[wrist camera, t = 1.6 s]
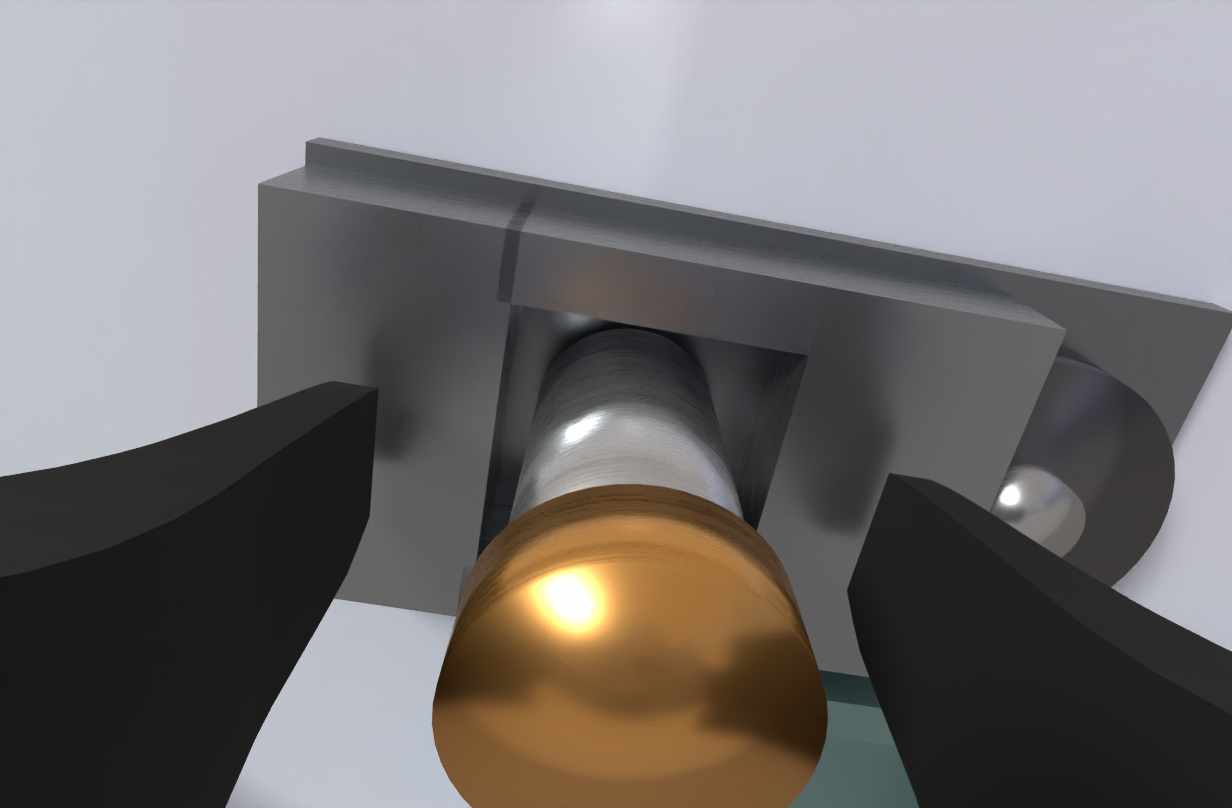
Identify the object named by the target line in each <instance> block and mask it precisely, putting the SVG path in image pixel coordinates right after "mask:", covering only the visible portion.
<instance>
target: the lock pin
mask: <svg viewBox="0 0 1232 808" xmlns="http://www.w3.org/2000/svg"><path fill="white" fill-rule="evenodd" d="M827 726H828V709H827V698H826V694H825V690H824V685H823V681H822V678H821V675H820V672H819V669H818V665H817V662H816V659H815V656H814V653H813V650H812V647H811V644H810V641H809V638H808V634H807V631H806V628H805V625H804V622H803V619H802V616H801V613H800V610H799V606H798V603H797V600H796V597H795V594H794V591H793V588H792V585H791V582H790V580H789V577H788V575H787V573H786V570H785V568H784V566H783V564H782V563H781V561H780V560H779V558H778V556H777V555H776V553H775V551H774V550H773V549H772V548H771V546H770V545H769V544H768V543H767V542H766V541H765V539H764V538H763V537H762V536H761V535H760V534H759V533H758V532H757V531H756V530H754V529H753V528H752V527H751V526H750V525H749V524H748V523H747V522H745V521H744V517H743V513H742V509H741V506H740V502H739V498H738V494H737V491H736V487H735V483H734V479H733V476H732V472H731V468H730V464H729V461H728V457H727V453H726V449H725V446H724V442H723V438H722V434H721V431H720V427H719V423H718V419H717V415H716V412H715V408H714V404H713V400H712V397H711V393H710V389H709V385H708V383H707V380H706V378H705V376H704V374H703V372H702V370H701V369H700V367H699V365H698V364H697V363H696V362H695V360H694V359H693V358H692V357H691V356H690V355H689V354H688V353H687V352H686V351H685V350H684V349H683V348H681V347H680V346H679V345H677V344H676V343H674V342H673V341H671V340H669V339H667V338H665V337H663V336H660V335H658V334H655V333H652V332H648V331H644V330H638V329H612V330H605V331H601V332H598V333H594V334H592V335H589V336H587V337H584V338H582V339H581V340H579V341H577V342H575V343H574V344H572V345H571V346H570V347H568V348H567V349H566V350H564V351H563V352H562V353H561V354H560V355H559V356H558V357H557V358H556V359H555V361H554V362H553V363H552V365H551V366H550V367H549V369H548V371H547V373H546V375H545V376H544V379H543V381H542V384H541V386H540V390H539V395H538V399H537V403H536V408H535V412H534V416H533V421H532V425H531V429H530V434H529V438H528V442H527V447H526V451H525V455H524V460H523V464H522V468H521V473H520V477H519V482H518V486H517V490H516V495H515V499H514V503H513V508H512V512H511V516H510V521H509V524H508V525H507V526H506V527H505V528H504V529H503V530H502V531H501V532H500V533H499V534H498V535H497V536H496V537H494V538H493V540H492V541H491V542H490V543H489V545H488V546H487V547H486V548H485V550H484V551H483V552H482V553H481V555H480V556H479V558H478V560H477V562H476V563H475V565H474V567H473V568H472V570H471V572H470V575H469V578H468V580H467V583H466V585H465V588H464V591H463V595H462V598H461V602H460V605H459V609H458V612H457V616H456V619H455V623H454V626H453V630H452V633H451V637H450V640H449V644H448V647H447V651H446V654H445V658H444V662H443V665H442V669H441V672H440V676H439V679H438V683H437V687H436V691H435V696H434V701H433V713H432V727H433V734H434V741H435V745H436V749H437V752H438V755H439V758H440V761H441V763H442V765H443V767H444V769H445V771H446V773H447V775H448V777H449V779H450V781H451V782H452V784H453V785H454V787H455V788H456V789H457V791H458V792H459V794H460V795H461V796H462V797H463V799H464V800H465V801H466V802H467V803H468V804H469V805H470V806H471V807H472V808H788V806H789V805H790V804H791V803H792V802H793V801H794V800H795V799H796V798H797V796H798V795H799V794H800V793H801V792H802V790H803V789H804V787H805V786H806V784H807V783H808V781H809V780H810V778H811V777H812V775H813V773H814V771H815V769H816V766H817V764H818V762H819V760H820V758H821V754H822V751H823V748H824V744H825V741H826V734H827Z"/></svg>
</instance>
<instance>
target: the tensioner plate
mask: <svg viewBox="0 0 1232 808" xmlns="http://www.w3.org/2000/svg"><path fill="white" fill-rule="evenodd" d="M612 329H638V330H644V331H648V332H652V333H655V334H658V335H660V336H663V337H665V338H667V339H669V340H671V341H673V342H674V343H676V344H677V345H679V346H680V347H681V348H683V349H684V350H685V351H686V352H687V353H688V354H689V355H690V356H691V357H692V358H693V359H694V360H695V362H696V363H697V364H698V365H699V367H700V369H701V370H702V372H703V374H704V376H705V378H706V380H707V383H708V385H709V389H710V393H711V397H712V400H713V404H714V408H715V412H716V415H717V419H718V423H719V427H720V431H721V434H722V438H723V442H724V446H725V449H726V453H727V457H728V461H729V464H730V468H731V472H732V476H733V479H734V483H735V487H736V491H737V494H738V498H739V502H740V506H741V509H742V513H743V517H744V521H745V522H747V523H748V524H749V525H750V526H751V527H752V528H753V529H754V530H756V531H757V532H758V533H759V534H760V535H761V536H762V537H763V538H764V539H765V541H766V542H767V543H768V544H769V545H770V546H771V548H772V549H773V550H774V551H775V553H776V555H777V556H778V558H779V560H780V561H781V563H782V564H783V566H784V568H785V570H786V573H787V575H788V577H789V580H790V582H791V585H792V588H793V591H794V594H795V597H796V600H797V603H798V606H799V610H800V613H801V616H802V619H803V622H804V625H805V628H806V631H807V634H808V638H809V641H810V644H811V647H812V650H813V653H814V656H815V659H816V662H817V665H818V669H819V670H824V671H830V672H837V673H844V674H851V675H858V676H864V677H869V675H868V672H867V670H866V667H865V664H864V662H863V659H862V656H861V653H860V650H859V646H858V642H857V638H856V633H855V629H854V625H853V620H852V615H851V610H850V605H849V600H848V594H847V588H848V585H849V583H850V580H851V577H852V574H853V571H854V569H855V566H856V563H857V560H858V558H859V555H860V552H861V549H862V546H863V544H864V541H865V538H866V535H867V533H868V530H869V527H870V524H871V522H872V519H873V516H874V513H875V510H876V508H877V505H878V502H879V499H880V497H881V494H882V491H883V488H884V486H885V483H886V480H887V477H888V474H889V473H893V474H899V475H905V476H911V477H918V478H924V479H930V480H933V481H935V482H937V483H939V484H942V485H944V486H946V487H948V488H950V489H952V490H953V491H955V492H957V493H959V494H961V495H962V496H964V497H966V498H967V499H969V500H971V501H972V502H974V503H976V504H977V505H979V506H981V507H982V508H984V509H985V510H987V511H988V512H990V513H992V514H993V515H995V516H996V517H998V518H999V519H1001V520H1003V521H1004V522H1006V523H1007V524H1009V525H1010V526H1012V527H1013V528H1015V529H1017V530H1018V531H1020V532H1021V533H1023V534H1024V535H1026V536H1027V537H1029V538H1031V539H1032V540H1034V541H1035V542H1037V543H1038V544H1040V545H1041V546H1043V547H1045V548H1046V549H1048V550H1049V551H1051V552H1053V553H1054V554H1056V555H1057V556H1059V557H1060V558H1062V559H1064V560H1065V561H1067V562H1068V563H1070V564H1072V565H1073V566H1075V567H1077V568H1078V569H1080V570H1081V571H1083V572H1085V573H1086V574H1088V575H1090V576H1091V577H1093V578H1095V579H1097V580H1098V581H1100V582H1102V583H1103V584H1105V585H1107V586H1108V587H1111V586H1113V585H1114V584H1115V583H1116V582H1117V581H1119V580H1120V579H1121V578H1122V577H1123V576H1124V575H1125V574H1126V573H1127V572H1128V571H1129V570H1130V569H1131V568H1132V567H1133V566H1134V565H1135V564H1136V563H1137V562H1138V561H1139V560H1140V558H1141V557H1142V556H1143V554H1144V553H1145V552H1146V551H1147V549H1148V548H1149V547H1150V545H1151V543H1152V542H1153V540H1154V539H1155V537H1156V535H1157V534H1158V532H1159V530H1160V528H1161V526H1162V524H1163V521H1164V519H1165V517H1166V515H1167V512H1168V509H1169V505H1170V502H1171V499H1172V494H1173V487H1174V480H1175V465H1174V456H1173V451H1172V444H1173V442H1174V440H1175V438H1176V436H1177V434H1178V432H1179V430H1180V429H1181V427H1182V425H1183V423H1184V421H1185V419H1186V417H1187V415H1188V413H1189V411H1190V409H1191V407H1192V405H1193V403H1194V401H1195V399H1196V397H1197V395H1198V393H1199V391H1200V390H1201V388H1202V386H1203V384H1204V382H1205V380H1206V378H1207V376H1208V374H1209V372H1210V370H1211V368H1212V366H1213V364H1214V362H1215V360H1216V358H1217V356H1218V354H1219V352H1220V351H1221V349H1222V347H1223V345H1224V343H1225V341H1226V339H1227V337H1228V335H1229V333H1230V331H1231V329H1232V311H1229V310H1227V309H1225V308H1222V307H1220V306H1218V305H1215V304H1212V303H1206V302H1201V301H1195V300H1190V299H1185V298H1179V297H1174V296H1169V295H1163V294H1158V293H1152V292H1147V291H1142V290H1136V289H1131V288H1126V287H1120V286H1115V285H1109V284H1104V283H1099V282H1093V281H1088V280H1083V279H1077V278H1072V277H1066V276H1061V275H1056V274H1050V273H1045V272H1040V271H1034V270H1029V269H1023V268H1018V267H1013V266H1007V265H1002V264H996V263H991V262H986V261H980V260H975V259H970V258H964V257H959V256H953V255H948V254H943V253H937V252H932V251H927V250H921V249H916V248H910V247H905V246H900V245H894V244H889V243H884V242H878V241H873V240H867V239H862V238H857V237H851V236H846V235H841V234H835V233H830V232H824V231H819V230H814V229H808V228H803V227H798V226H792V225H787V224H781V223H776V222H771V221H765V220H760V219H755V218H749V217H744V216H738V215H733V214H728V213H722V212H717V211H712V210H706V209H701V208H695V207H690V206H685V205H679V204H674V203H669V202H663V201H658V200H652V199H647V198H642V197H636V196H631V195H626V194H620V193H615V192H609V191H604V190H599V189H593V188H588V187H583V186H577V185H572V184H566V183H561V182H556V181H550V180H545V179H540V178H534V177H529V176H523V175H518V174H513V173H507V172H502V171H497V170H491V169H486V168H480V167H475V166H470V165H464V164H459V163H454V162H448V161H443V160H437V159H432V158H427V157H421V156H416V155H411V154H405V153H400V152H394V151H389V150H384V149H378V148H373V147H368V146H362V145H357V144H351V143H346V142H341V141H335V140H330V139H325V138H316V139H313V140H310V141H307V142H306V160H305V166H304V167H301V168H298V169H296V170H293V171H291V172H288V173H285V174H283V175H280V176H277V177H275V178H272V179H269V180H267V181H264V182H262V183H259V184H258V401H257V407H260V406H263V405H265V404H268V403H270V402H273V401H276V400H278V399H281V398H283V397H286V396H288V395H291V394H294V393H296V392H299V391H301V390H304V389H307V388H310V387H313V386H316V385H319V384H322V383H326V382H330V381H338V382H344V383H350V384H356V385H362V386H368V387H374V388H379V390H378V405H377V419H376V434H375V448H374V463H373V477H372V492H371V506H370V517H369V520H368V523H367V525H366V528H365V531H364V533H363V536H362V538H361V541H360V544H359V546H358V549H357V551H356V554H355V556H354V559H353V561H352V564H351V566H350V569H349V571H348V574H347V576H346V577H345V579H344V581H343V583H342V585H341V587H340V588H339V590H338V592H337V594H336V595H335V597H334V599H341V600H348V601H355V602H361V603H368V604H375V605H382V606H389V607H395V608H402V609H409V610H416V611H423V612H429V613H436V614H443V615H450V616H457V612H458V609H459V605H460V602H461V598H462V595H463V591H464V588H465V585H466V583H467V580H468V578H469V575H470V572H471V570H472V568H473V567H474V565H475V563H476V562H477V560H478V558H479V556H480V555H481V553H482V552H483V551H484V550H485V548H486V547H487V546H488V545H489V543H490V542H491V541H492V540H493V538H494V537H496V536H497V535H498V534H499V533H500V532H501V531H502V530H503V529H504V528H505V527H506V526H507V525H508V524H509V521H510V516H511V512H512V508H513V503H514V499H515V495H516V490H517V486H518V482H519V477H520V473H521V468H522V464H523V460H524V455H525V451H526V447H527V442H528V438H529V434H530V429H531V425H532V421H533V416H534V412H535V408H536V403H537V399H538V395H539V390H540V386H541V384H542V381H543V379H544V376H545V375H546V373H547V371H548V369H549V367H550V366H551V365H552V363H553V362H554V361H555V359H556V358H557V357H558V356H559V355H560V354H561V353H562V352H563V351H564V350H566V349H567V348H568V347H570V346H571V345H572V344H574V343H575V342H577V341H579V340H581V339H582V338H584V337H587V336H589V335H592V334H594V333H598V332H601V331H605V330H612Z"/></svg>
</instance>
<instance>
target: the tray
mask: <svg viewBox="0 0 1232 808" xmlns="http://www.w3.org/2000/svg"><path fill="white" fill-rule="evenodd" d="M819 672H820V675H821V678H822V681H823V685H824V690H825V694H826V698H827V709H828V726H827V734H826V741H825V744H824V748H823V751H822V754H821V758H820V760H819V762H818V764H817V766H816V769H815V771H814V773H813V775H812V777H811V778H810V780H809V781H808V783H807V784H806V786H805V787H804V789H803V790H802V792H801V793H800V794H799V795H798V796H797V798H796V799H795V800H794V801H793V802H792V803H791V804H790V805H789V806H788V808H919V806H918V803H917V800H916V797H915V794H914V791H913V789H912V786H911V784H910V781H909V779H908V776H907V773H906V771H905V768H904V766H903V763H902V761H901V758H900V755H899V753H898V750H897V748H896V745H895V743H894V740H893V737H892V735H891V732H890V730H889V727H888V725H887V722H886V720H885V717H884V714H883V712H882V709H881V707H880V704H879V702H878V699H877V696H876V694H875V691H874V688H873V686H872V683H871V680H870V678H869V677H864V676H858V675H851V674H844V673H837V672H830V671H824V670H819Z"/></svg>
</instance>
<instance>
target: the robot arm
mask: <svg viewBox="0 0 1232 808" xmlns="http://www.w3.org/2000/svg"><path fill="white" fill-rule="evenodd" d="M378 390H379V388H374V387H368V386H362V385H356V384H350V383H344V382H338V381H330V382H326V383H322V384H319V385H316V386H313V387H310V388H307V389H304V390H301V391H299V392H296V393H294V394H291V395H288V396H286V397H283V398H281V399H278V400H276V401H273V402H270V403H268V404H265V405H263V406H260V407H257V408H255V409H252V410H249V411H247V412H244V413H242V414H239V415H236V416H234V417H231V418H228V419H226V420H223V421H220V422H217V423H214V424H211V425H208V426H205V427H202V428H199V429H196V430H193V431H190V432H187V433H184V434H181V435H178V436H175V437H172V438H169V439H166V440H163V441H160V442H157V443H153V444H150V445H146V446H143V447H139V448H136V449H132V450H128V451H125V452H121V453H117V454H113V455H109V456H104V457H100V458H96V459H92V460H88V461H83V462H79V463H75V464H70V465H65V466H61V467H56V468H50V469H44V470H38V471H33V472H27V473H21V474H15V475H9V476H3V477H0V808H225V807H226V805H227V802H228V800H229V798H230V796H231V793H232V791H233V789H234V786H235V784H236V782H237V780H238V777H239V775H240V773H241V770H242V768H243V766H244V764H245V761H246V759H247V757H248V754H249V752H250V750H251V748H252V745H253V743H254V741H255V739H256V736H257V734H258V733H259V731H260V729H261V727H262V725H263V723H264V721H265V719H266V717H267V715H268V713H269V711H270V709H271V707H272V705H273V704H274V702H275V700H276V698H277V697H278V695H279V693H280V691H281V690H282V688H283V686H284V684H285V683H286V681H287V679H288V678H289V676H290V674H291V672H292V671H293V669H294V667H295V665H296V664H297V662H298V660H299V658H300V657H301V655H302V653H303V651H304V650H305V648H306V646H307V645H308V643H309V641H310V639H311V638H312V636H313V634H314V632H315V631H316V629H317V627H318V625H319V624H320V622H321V620H322V618H323V617H324V615H325V613H326V611H327V610H328V608H329V606H330V604H331V603H332V601H333V599H334V597H335V595H336V594H337V592H338V590H339V588H340V587H341V585H342V583H343V581H344V579H345V577H346V576H347V574H348V571H349V569H350V566H351V564H352V561H353V559H354V556H355V554H356V551H357V549H358V546H359V544H360V541H361V538H362V536H363V533H364V531H365V528H366V525H367V523H368V520H369V517H370V506H371V492H372V477H373V463H374V448H375V434H376V419H377V405H378ZM847 594H848V600H849V605H850V610H851V615H852V620H853V625H854V629H855V633H856V638H857V642H858V646H859V650H860V653H861V656H862V659H863V662H864V664H865V667H866V670H867V672H868V675H869V678H870V680H871V683H872V686H873V688H874V691H875V694H876V696H877V699H878V702H879V704H880V707H881V709H882V712H883V714H884V717H885V720H886V722H887V725H888V727H889V730H890V732H891V735H892V737H893V740H894V743H895V745H896V748H897V750H898V753H899V755H900V758H901V761H902V763H903V766H904V768H905V771H906V773H907V776H908V779H909V781H910V784H911V786H912V789H913V791H914V794H915V797H916V800H917V803H918V806H919V808H1232V652H1231V651H1229V650H1227V649H1225V648H1223V647H1221V646H1219V645H1217V644H1215V643H1213V642H1211V641H1209V640H1207V639H1205V638H1203V637H1201V636H1199V635H1197V634H1195V633H1193V632H1191V631H1189V630H1187V629H1185V628H1183V627H1181V626H1179V625H1177V624H1175V623H1173V622H1171V621H1170V620H1168V619H1166V618H1164V617H1162V616H1160V615H1158V614H1156V613H1154V612H1152V611H1151V610H1149V609H1147V608H1145V607H1143V606H1141V605H1140V604H1138V603H1136V602H1134V601H1132V600H1131V599H1129V598H1127V597H1126V596H1124V595H1122V594H1120V593H1119V592H1117V591H1115V590H1114V589H1112V588H1110V587H1108V586H1107V585H1105V584H1103V583H1102V582H1100V581H1098V580H1097V579H1095V578H1093V577H1091V576H1090V575H1088V574H1086V573H1085V572H1083V571H1081V570H1080V569H1078V568H1077V567H1075V566H1073V565H1072V564H1070V563H1068V562H1067V561H1065V560H1064V559H1062V558H1060V557H1059V556H1057V555H1056V554H1054V553H1053V552H1051V551H1049V550H1048V549H1046V548H1045V547H1043V546H1041V545H1040V544H1038V543H1037V542H1035V541H1034V540H1032V539H1031V538H1029V537H1027V536H1026V535H1024V534H1023V533H1021V532H1020V531H1018V530H1017V529H1015V528H1013V527H1012V526H1010V525H1009V524H1007V523H1006V522H1004V521H1003V520H1001V519H999V518H998V517H996V516H995V515H993V514H992V513H990V512H988V511H987V510H985V509H984V508H982V507H981V506H979V505H977V504H976V503H974V502H972V501H971V500H969V499H967V498H966V497H964V496H962V495H961V494H959V493H957V492H955V491H953V490H952V489H950V488H948V487H946V486H944V485H942V484H939V483H937V482H935V481H933V480H930V479H924V478H918V477H911V476H905V475H899V474H893V473H889V474H888V477H887V480H886V483H885V486H884V488H883V491H882V494H881V497H880V499H879V502H878V505H877V508H876V510H875V513H874V516H873V519H872V522H871V524H870V527H869V530H868V533H867V535H866V538H865V541H864V544H863V546H862V549H861V552H860V555H859V558H858V560H857V563H856V566H855V569H854V571H853V574H852V577H851V580H850V583H849V585H848V588H847Z"/></svg>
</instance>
